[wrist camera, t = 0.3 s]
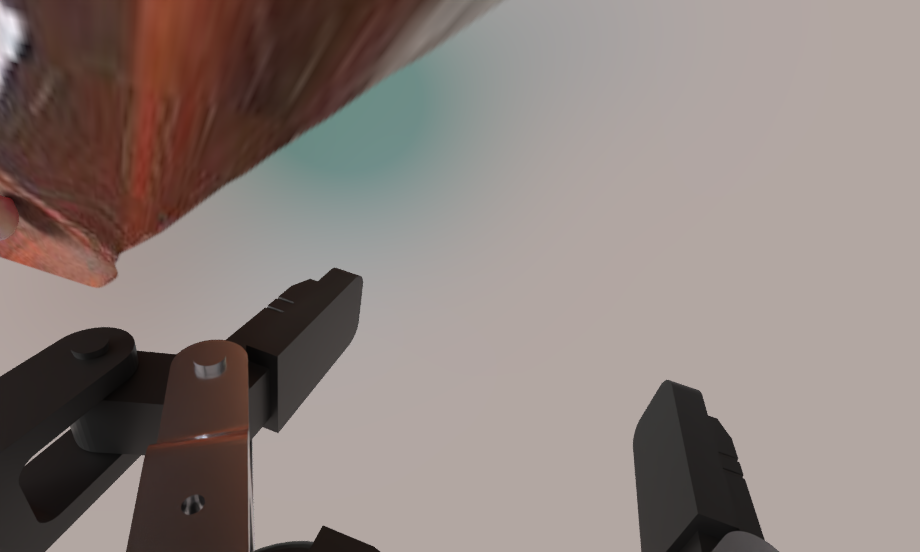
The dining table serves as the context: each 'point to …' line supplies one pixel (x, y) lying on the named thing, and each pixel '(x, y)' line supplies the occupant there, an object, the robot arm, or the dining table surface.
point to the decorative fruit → (7, 217)
